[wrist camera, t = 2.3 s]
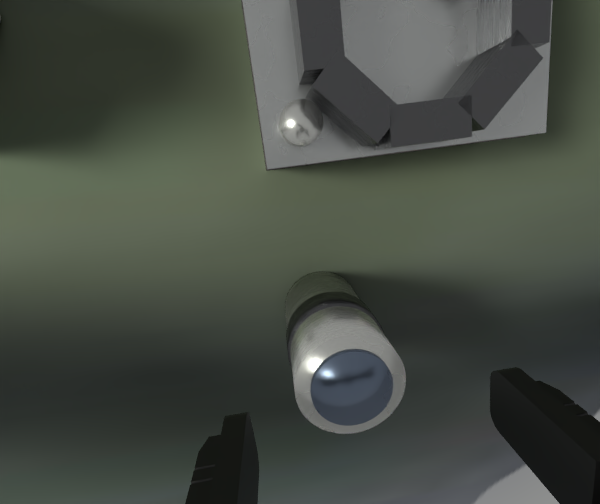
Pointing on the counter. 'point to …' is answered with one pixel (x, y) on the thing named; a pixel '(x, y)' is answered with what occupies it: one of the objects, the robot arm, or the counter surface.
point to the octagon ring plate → (395, 75)
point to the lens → (340, 356)
